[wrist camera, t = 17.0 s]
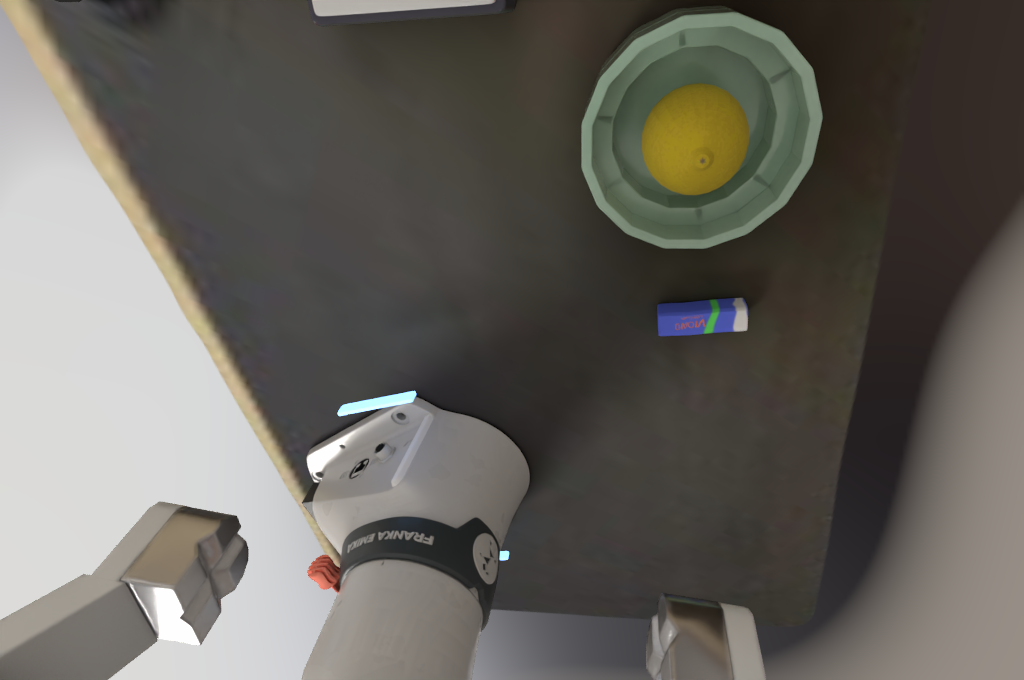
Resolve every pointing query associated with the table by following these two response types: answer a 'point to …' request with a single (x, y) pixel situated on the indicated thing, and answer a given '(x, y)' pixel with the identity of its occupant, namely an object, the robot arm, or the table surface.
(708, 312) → the eraser
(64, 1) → the coffee cup
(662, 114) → the lemon
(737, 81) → the bowl
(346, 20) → the calculator
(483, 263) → the table surface
